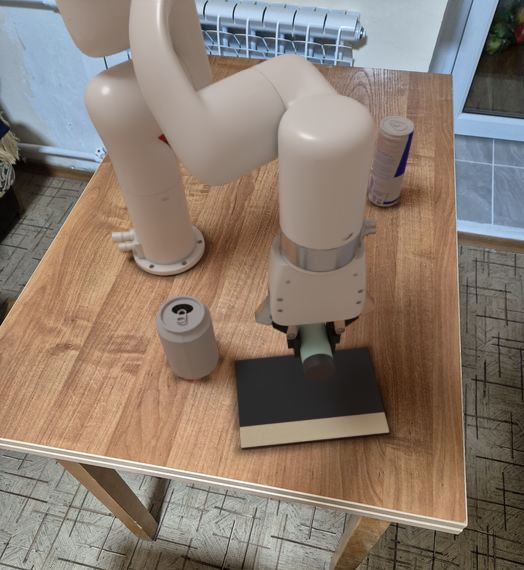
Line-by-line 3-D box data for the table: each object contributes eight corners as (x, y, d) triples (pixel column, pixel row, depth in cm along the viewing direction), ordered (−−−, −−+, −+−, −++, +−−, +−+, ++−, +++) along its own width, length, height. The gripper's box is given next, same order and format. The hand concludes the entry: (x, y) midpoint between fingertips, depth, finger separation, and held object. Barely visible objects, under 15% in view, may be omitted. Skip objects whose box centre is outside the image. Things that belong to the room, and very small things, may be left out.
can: (220, 339, 79) (210, 288, 69) (219, 381, 75) (208, 333, 65) (171, 341, 79) (155, 291, 69) (168, 383, 75) (150, 336, 65)
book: (241, 449, 69) (241, 447, 68) (234, 362, 77) (234, 360, 76) (388, 434, 69) (389, 432, 69) (367, 349, 77) (367, 346, 76)
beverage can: (397, 209, 94) (414, 135, 81) (366, 206, 94) (378, 133, 82) (399, 190, 97) (415, 115, 84) (369, 187, 97) (381, 113, 85)
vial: (292, 315, 66) (293, 297, 63) (319, 313, 66) (322, 295, 63) (303, 382, 60) (305, 365, 57) (333, 379, 61) (337, 363, 58)
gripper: (397, 201, 50) (372, 315, 65) (229, 218, 50) (243, 329, 65) (417, 255, 46) (386, 364, 61) (234, 274, 46) (248, 379, 61)
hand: (312, 345), depth 63 cm, fingers closed on vial, 3 cm apart
